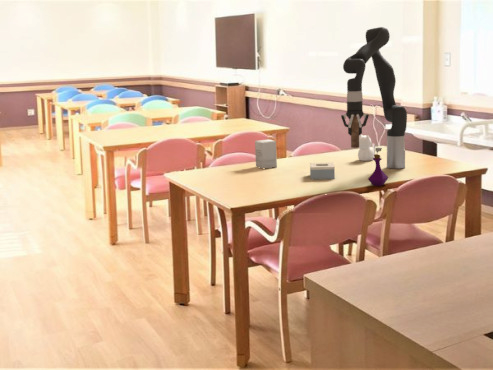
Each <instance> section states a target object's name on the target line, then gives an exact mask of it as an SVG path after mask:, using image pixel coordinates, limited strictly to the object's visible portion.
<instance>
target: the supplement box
mask: <svg viewBox="0 0 493 370" xmlns="http://www.w3.org/2000/svg"><path fill="white" fill-rule="evenodd" d="M254 146H255V147H254V149H255V154H254V155H255V167H256V166H257V167H256V168H258V167H260V168H259V169H261V168H269V169H273V168H272V167H276V168H277V167H278V166H277V165H278V163H277V159H278V158H277V141H276V140H273V139H269V138H268V139H260V140H254Z"/></svg>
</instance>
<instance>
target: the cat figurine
mask: <svg viewBox="0 0 493 370" xmlns="http://www.w3.org/2000/svg"><path fill="white" fill-rule="evenodd" d="M358 148H359V150H358V152H357V157H358V160H359V161H361V162H369V161H372V160H373V158H374V155H375V154H376V148H377V147H376V144H375V143H373V142H372V138H371V137H370V135H369V134H367V135H363V134H361V135H359V147H358Z"/></svg>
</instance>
